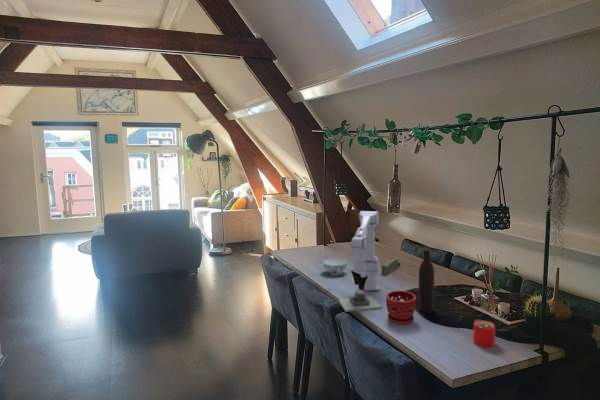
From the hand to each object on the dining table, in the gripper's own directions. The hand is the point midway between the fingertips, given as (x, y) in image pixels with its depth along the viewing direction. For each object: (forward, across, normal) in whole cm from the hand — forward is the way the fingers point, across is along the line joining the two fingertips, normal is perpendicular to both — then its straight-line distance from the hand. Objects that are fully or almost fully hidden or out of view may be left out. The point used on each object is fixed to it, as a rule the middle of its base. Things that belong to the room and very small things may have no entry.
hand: (359, 286), depth 209 cm
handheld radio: (+10, +51, -36) cm, 63 cm away
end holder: (+9, 0, 0) cm, 9 cm away
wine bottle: (+10, -14, -29) cm, 34 cm away
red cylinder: (+10, -47, -37) cm, 61 cm away
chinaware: (+10, +52, 0) cm, 53 cm away
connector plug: (+8, 0, 0) cm, 8 cm away
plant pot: (+10, -22, -13) cm, 27 cm away
